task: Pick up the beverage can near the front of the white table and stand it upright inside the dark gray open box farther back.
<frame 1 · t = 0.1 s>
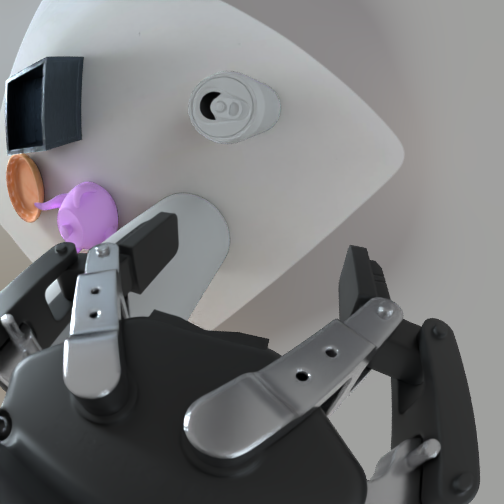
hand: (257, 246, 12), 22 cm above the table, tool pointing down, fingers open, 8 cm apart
saucer: (30, 184, 44), on the table
cylinder vase: (191, 231, 40), on the table
teapot: (99, 210, 42), on the table
dark gray open box: (56, 103, 33), on the table
beverage can: (255, 107, 29), on the table
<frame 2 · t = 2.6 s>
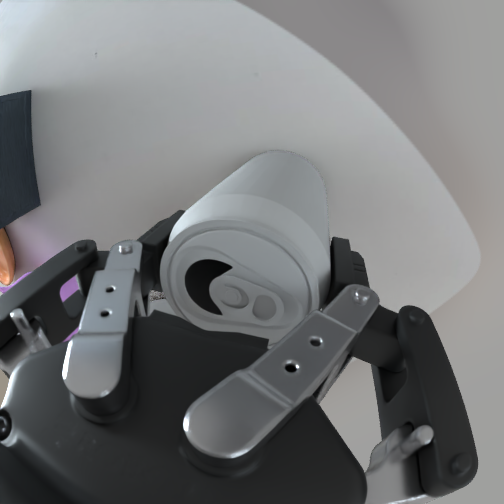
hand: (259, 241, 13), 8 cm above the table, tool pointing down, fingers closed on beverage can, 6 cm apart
saucer: (0, 240, 34), on the table
teapot: (75, 291, 32), on the table
dark gray open box: (9, 152, 23), on the table
beverage can: (282, 192, 19), on the table, touching gripper
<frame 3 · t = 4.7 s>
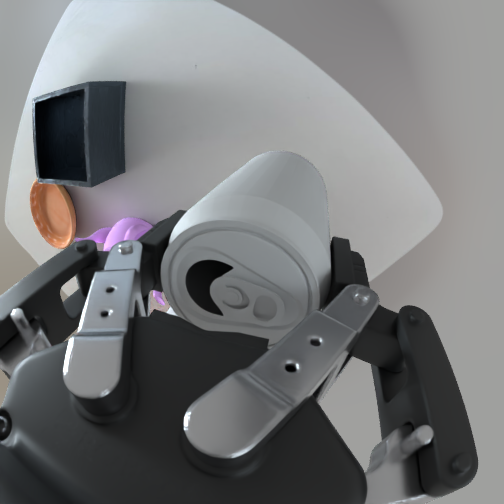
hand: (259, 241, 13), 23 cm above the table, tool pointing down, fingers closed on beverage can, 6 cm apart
saucer: (58, 208, 46), on the table
teapot: (144, 245, 45), on the table
dark gray open box: (92, 129, 36), on the table
beverage can: (282, 192, 19), point 15 cm above the table, touching gripper
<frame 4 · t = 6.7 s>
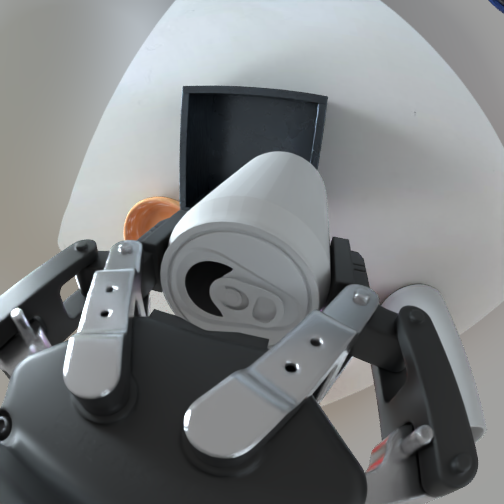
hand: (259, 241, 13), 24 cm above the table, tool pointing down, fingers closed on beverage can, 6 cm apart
saucer: (172, 238, 44), on the table
cylinder vase: (410, 311, 40), on the table
dark gray open box: (260, 147, 33), on the table
beverage can: (282, 192, 19), point 16 cm above the table, touching gripper
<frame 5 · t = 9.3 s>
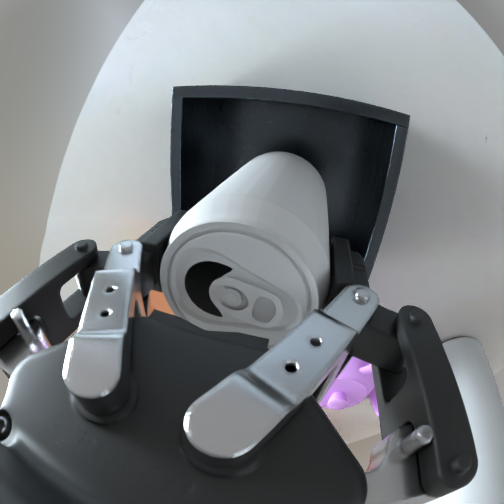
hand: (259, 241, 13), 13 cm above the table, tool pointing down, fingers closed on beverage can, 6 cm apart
saucer: (169, 287, 34), on the table
cylinder vase: (446, 362, 30), on the table
teapot: (340, 347, 33), on the table
dark gray open box: (288, 176, 24), on the table
beverage can: (282, 193, 19), point 5 cm above the table, touching gripper
when the fingers open (9 cm above the table, at t = 11.0 s): beverage can stays where it is, resting on dark gray open box.
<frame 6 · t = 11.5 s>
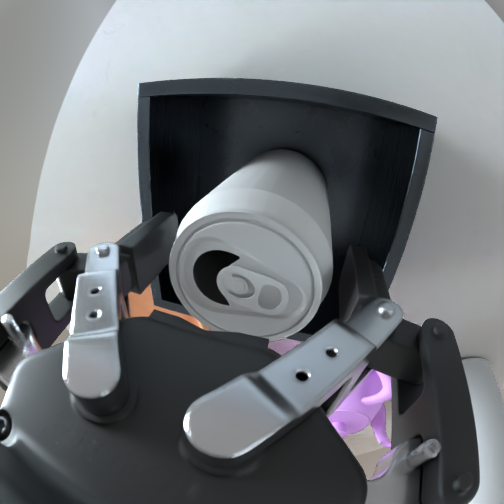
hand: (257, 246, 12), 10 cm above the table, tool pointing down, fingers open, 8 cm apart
saucer: (155, 305, 31), on the table
cylinder vase: (452, 382, 27), on the table
teapot: (341, 370, 29), on the table
dark gray open box: (284, 187, 21), on the table
beverage can: (284, 189, 20), point 1 cm above the table, touching dark gray open box
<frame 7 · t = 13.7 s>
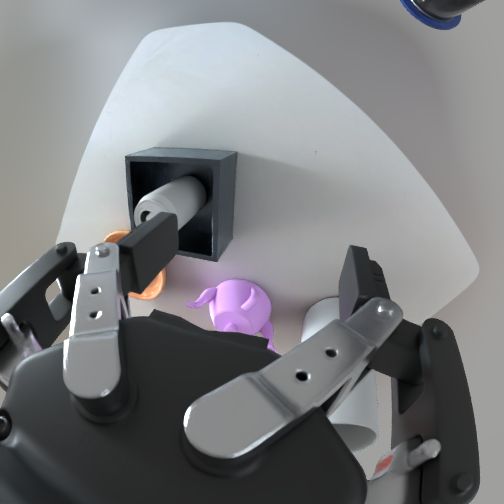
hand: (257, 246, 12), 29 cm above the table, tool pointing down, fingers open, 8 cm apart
saucer: (138, 260, 54), on the table
cylinder vase: (335, 320, 50), on the table
teapot: (244, 300, 52), on the table
dark gray open box: (192, 192, 44), on the table
beverage can: (190, 193, 43), point 1 cm above the table, touching dark gray open box
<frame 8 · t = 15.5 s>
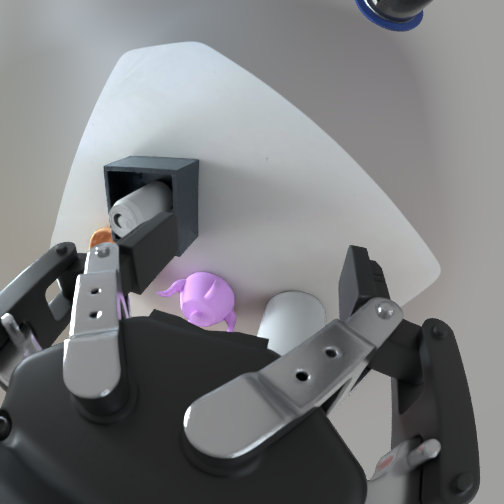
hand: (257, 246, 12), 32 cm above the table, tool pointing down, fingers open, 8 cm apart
saucer: (121, 254, 59), on the table
cylinder vase: (295, 313, 55), on the table
teapot: (211, 291, 58), on the table
dark gray open box: (163, 195, 49), on the table
beverage can: (161, 196, 48), point 1 cm above the table, touching dark gray open box
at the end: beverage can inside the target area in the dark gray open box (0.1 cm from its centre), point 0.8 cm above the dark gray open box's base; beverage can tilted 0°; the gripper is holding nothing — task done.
